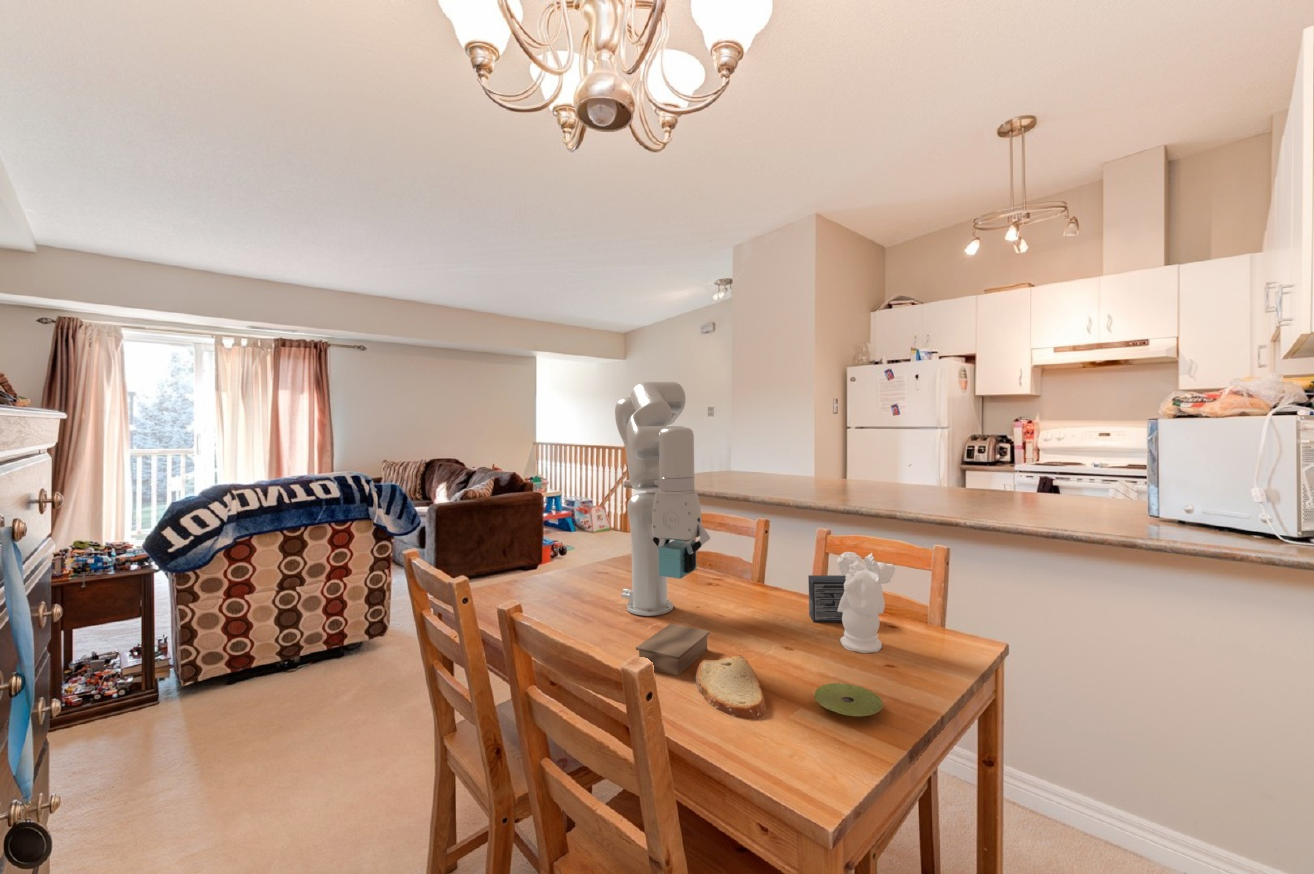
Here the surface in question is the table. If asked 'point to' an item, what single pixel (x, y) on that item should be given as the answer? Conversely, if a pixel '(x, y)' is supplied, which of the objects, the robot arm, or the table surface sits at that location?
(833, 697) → the green disc
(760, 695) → the slice of bread
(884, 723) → the table surface
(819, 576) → the small box
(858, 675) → the table surface
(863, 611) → the cherub figurine
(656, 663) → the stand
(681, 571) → the block
